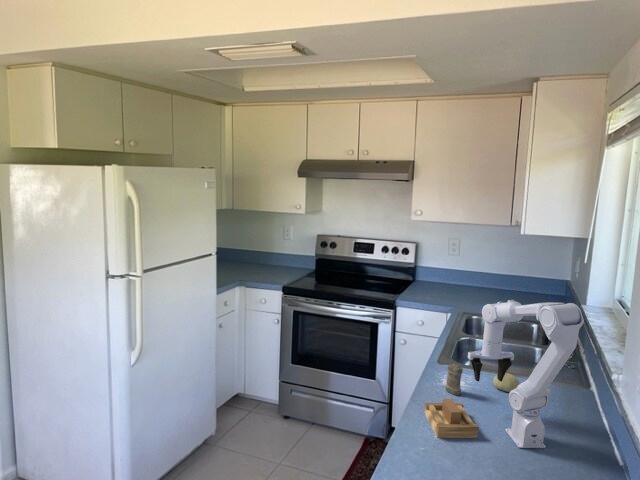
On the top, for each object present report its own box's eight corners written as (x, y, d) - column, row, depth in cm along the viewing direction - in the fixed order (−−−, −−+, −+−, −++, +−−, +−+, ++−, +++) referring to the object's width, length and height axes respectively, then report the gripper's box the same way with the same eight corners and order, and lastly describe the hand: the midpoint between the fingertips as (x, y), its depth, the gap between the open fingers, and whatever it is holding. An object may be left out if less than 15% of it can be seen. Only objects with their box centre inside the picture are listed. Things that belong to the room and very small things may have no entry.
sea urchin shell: (489, 384, 176) (494, 364, 180) (491, 393, 182) (496, 373, 186) (516, 392, 172) (521, 371, 175) (517, 400, 177) (522, 380, 181)
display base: (477, 437, 146) (478, 426, 145) (437, 437, 145) (438, 426, 144) (461, 413, 160) (462, 403, 159) (424, 413, 159) (425, 402, 158)
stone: (448, 388, 177) (450, 361, 175) (462, 394, 172) (464, 366, 171) (443, 391, 174) (445, 364, 173) (457, 397, 170) (459, 369, 169)
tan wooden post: (460, 426, 148) (461, 412, 147) (450, 426, 148) (451, 412, 147) (451, 412, 156) (452, 399, 155) (441, 412, 156) (442, 399, 155)
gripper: (508, 335, 163) (504, 374, 165) (465, 335, 161) (462, 374, 164) (519, 344, 156) (514, 384, 158) (474, 343, 155) (470, 384, 157)
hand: (488, 380), depth 161 cm, fingers open, 7 cm apart
